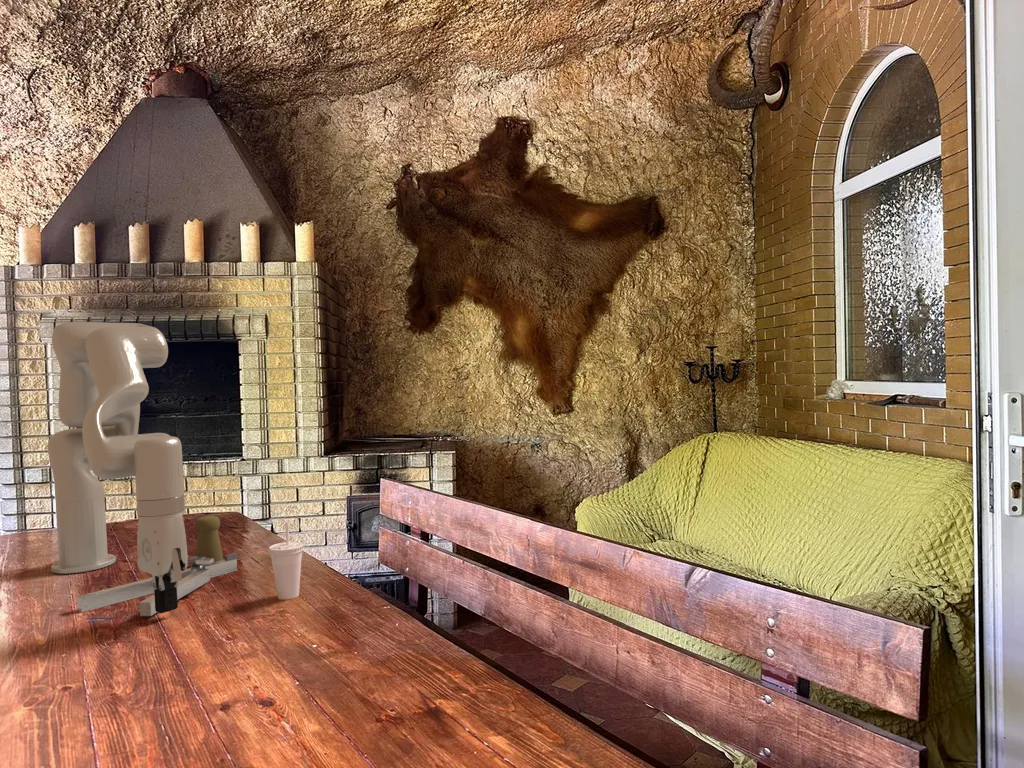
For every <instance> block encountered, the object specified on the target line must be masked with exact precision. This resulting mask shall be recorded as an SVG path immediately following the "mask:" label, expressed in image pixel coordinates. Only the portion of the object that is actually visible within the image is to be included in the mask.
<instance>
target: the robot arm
mask: <svg viewBox="0 0 1024 768" xmlns="http://www.w3.org/2000/svg"><path fill="white" fill-rule="evenodd" d="M51 345H52V347H53V348H52V349H53V352H54V354H55V357H56V359H57V361H58V364H59V367H60V369H59V370H60V375H59V389H58V403H57V404H58V406H57V407H58V408H57V409H58V418H59V421H61V424H63V425H64V426H66V427H69V429H67V428H66V429H64V430H61V431H58V432H56V433H54V434H53V435H52V436H51V437H50V438H49V439H48V442H47V455H48V459H49V463H50V466H51V471H52V472H51V473H52V477H53V484H54V496H55V513H56V514H55V515H56V528H57V529H56V531H57V547H58V548H57V550H58V561H56V562H54V563H53V564H51V566H50V570H51V572H52V573H55V574H63V575H64V574H65V575H67V574H78V573H85V572H86V573H87V572H91V571H94V570H100V569H103V568H105V567H108V566H110V565H113V564H114V563H115V562H116V561H117V557H116V555H114V554H112V553H109V552H108V551H109V550H108V537H107V536H108V535H107V517H106V500H105V499H106V497H105V488H104V485H103V483H102V482H101V480H100V479H102V480H115V479H122V478H123V479H124V478H130V477H131V478H132V477H135V478H134V479H135V481H134V482H135V494H136V495H135V497H136V500H135V501H136V514H137V515H136V516H137V520H138V523H137V531H136V532H137V533H136V534H137V535H136V539H137V540H136V542H137V543H136V545H137V546H136V549H137V550H136V551H137V556H136V557H137V561H136V562H137V567H138V569H139V570H141V571H143V572H144V573H147V574H150V575H151V578H152V581H153V587H154V589H155V590H154V593H153V595H155V611H156V612H157V613H159V614H163V613H167V612H170V611H171V612H172V611H174V610H177V609H178V607H179V603H178V600H177V586H178V581H180V580H182V574H181V571H184V570H185V569H188V564H187V559H188V546H187V543H188V542H187V535H186V527H185V523H184V514H186V506H185V505H186V504H185V499H186V498H185V488H184V487H185V485H184V465H183V464H184V463H183V449H182V442H181V440H180V438H178V437H176V436H172V435H169V434H168V433H165V432H153V433H141V434H139V426H140V425H139V423H140V415H141V402H143V401H144V400H145V399H146V398H147V396H148V394H149V391H150V390H149V389H150V386H149V383H148V382H147V378H146V375H145V373H144V369H149V368H151V369H153V368H155V369H156V368H160V367H162V366H164V364H165V363H166V362H167V361H168V360H167V359H168V356H169V347H168V343H167V340H166V338H165V335H164V334H163V333H162V331H160V330H159V329H158V328H157V327H154V326H151V325H146V324H143V323H135V322H103V321H102V322H100V321H69V322H67V321H66V322H62V323H59V324H57V325H56V326H55V327H54V329H53V330H52V335H51ZM91 471H92V473H93V474H92V473H91ZM98 478H100V479H98ZM156 588H157V589H156Z"/></svg>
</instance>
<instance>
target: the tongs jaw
mask: <svg viewBox="0 0 1024 768" xmlns="http://www.w3.org/2000/svg"><path fill="white" fill-rule="evenodd" d="M213 562H214V558H206V556H196V555H195V556H191V557H187V565H191V564H211V563H213ZM210 581H211V578H210V570H209V569H199V570H197V571H195V572H194V573H192V574H190V575H188V576H186V577H185V578H183V579H182V580H180V581H178V586H177V601H178V600H180V599H181V598H183V597H185V596H187V595H188V594H190V593H192V592H194V591H195V590H197V589H198V588H199V587H202V586H203V585H205V584H206V583H208V582H210ZM156 613H158V612H156V611H155V595H154V594H151V596H149V597H147V598H145V599H144V600H141V601H140V602H139V614H140V615H139V617H152V616H153V615H156Z"/></svg>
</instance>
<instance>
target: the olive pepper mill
mask: <svg viewBox="0 0 1024 768" xmlns="http://www.w3.org/2000/svg"><path fill="white" fill-rule="evenodd" d="M220 527H221V520H220V518H219V517H218V516H216V515H204V516H201V517H198V518H197V519H196V520H195V522H194V529H195V531H196V532H197V537H196V538H197V539H196V549H195V556H206V558H214V562H216V561H220V560H224V556H223V550H222V545H221V541H220V535H219V529H220ZM203 565H204V564H203Z"/></svg>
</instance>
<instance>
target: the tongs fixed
mask: <svg viewBox="0 0 1024 768" xmlns="http://www.w3.org/2000/svg"><path fill="white" fill-rule="evenodd" d="M238 559H239V553H238V552H232V553H229V554H224V556H223V560H220V561H216V562H213V563H211V564H204V565H203V564H190V568H188V567H187V568H186V569H185V570H184V571H181V574H182V579H183V578H185V577H186V576H188V575H190V574H192V573H194V572H195V571H197V570H199V569H209V570H210V579H211V578H215V577H220V576H223V575H227V574H230V573H234V571H235V572H237V571H238ZM156 589H157V588H156ZM154 590H155V589H154V587H153V581H152V577H150V578H145V579H144V578H143V579H140V580H138V581H133V582H128V583H125V584H122V585H121V584H120V585H118V586H113V587H109V588H105V589H102V590H97V591H92V592H89V593H86V594H80V595H77V596H76V602H77V603H76V605H77V606H76V607H77V611H78V612H80V613H84V612H85V613H86V612H88V611H92V610H96V609H99V608H103V607H108V606H111V605H114V604H118V603H122V602H125V601H129V600H132V599H133V600H134V599H136V598H141V597H144V596H149V595H153V594H154Z"/></svg>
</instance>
